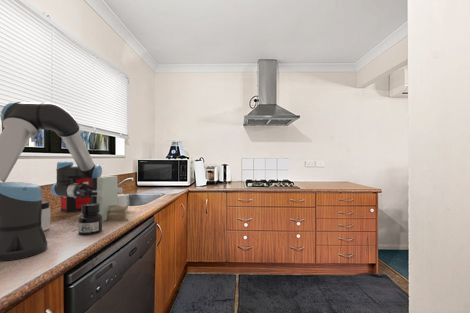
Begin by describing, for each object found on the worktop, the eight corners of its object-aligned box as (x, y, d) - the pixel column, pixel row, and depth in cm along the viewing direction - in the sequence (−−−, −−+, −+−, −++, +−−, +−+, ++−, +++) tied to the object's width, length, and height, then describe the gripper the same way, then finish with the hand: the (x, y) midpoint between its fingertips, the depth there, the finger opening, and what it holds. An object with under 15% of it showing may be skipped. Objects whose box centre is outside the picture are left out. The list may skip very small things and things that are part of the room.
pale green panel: (102, 221, 126) (102, 177, 126) (97, 221, 127) (97, 177, 127) (117, 216, 137) (117, 175, 137) (112, 216, 138) (112, 175, 138)
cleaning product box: (90, 206, 164) (90, 175, 164) (96, 208, 158) (96, 176, 158) (60, 210, 150) (61, 177, 150) (66, 212, 145) (67, 178, 145)
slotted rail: (124, 220, 128) (124, 206, 128) (88, 217, 133) (88, 204, 133) (127, 219, 131) (127, 205, 131) (91, 216, 136) (91, 203, 136)
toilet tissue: (114, 215, 140) (115, 197, 140) (100, 213, 145) (100, 195, 145) (130, 211, 150) (130, 194, 150) (116, 209, 155) (116, 193, 155)
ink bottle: (72, 235, 104) (72, 206, 104) (84, 229, 113) (85, 202, 113) (96, 235, 104) (96, 206, 104) (106, 229, 113) (107, 202, 113)
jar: (22, 233, 105) (23, 205, 105) (25, 229, 112) (25, 202, 112) (49, 230, 110) (49, 203, 110) (50, 226, 117) (50, 200, 117)
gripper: (96, 194, 148) (128, 195, 143) (58, 201, 124) (94, 203, 119) (97, 181, 148) (128, 182, 143) (58, 186, 124) (94, 187, 119)
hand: (113, 192), depth 131 cm, fingers open, 13 cm apart
